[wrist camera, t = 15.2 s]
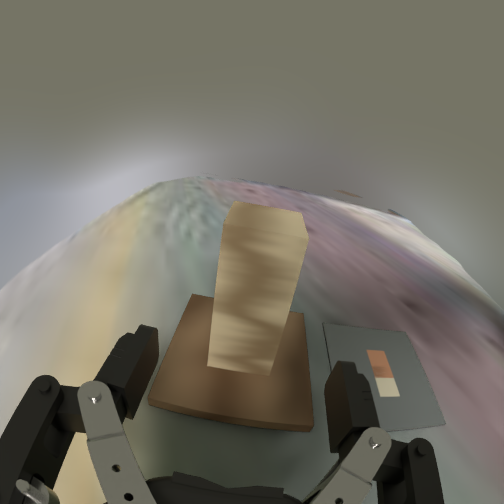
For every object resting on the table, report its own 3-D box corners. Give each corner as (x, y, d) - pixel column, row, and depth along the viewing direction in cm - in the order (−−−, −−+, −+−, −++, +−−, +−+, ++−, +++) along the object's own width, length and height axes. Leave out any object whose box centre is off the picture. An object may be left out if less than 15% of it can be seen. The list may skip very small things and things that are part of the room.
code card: (405, 332, 31) (405, 331, 31) (445, 424, 18) (445, 423, 18) (322, 323, 31) (323, 322, 31) (340, 432, 18) (341, 431, 18)
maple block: (270, 336, 26) (301, 212, 21) (269, 376, 22) (309, 238, 17) (217, 327, 26) (234, 200, 21) (207, 365, 22) (223, 223, 17)
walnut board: (300, 320, 31) (303, 313, 30) (309, 432, 18) (313, 425, 18) (191, 301, 31) (192, 293, 30) (148, 404, 18) (147, 397, 18)
